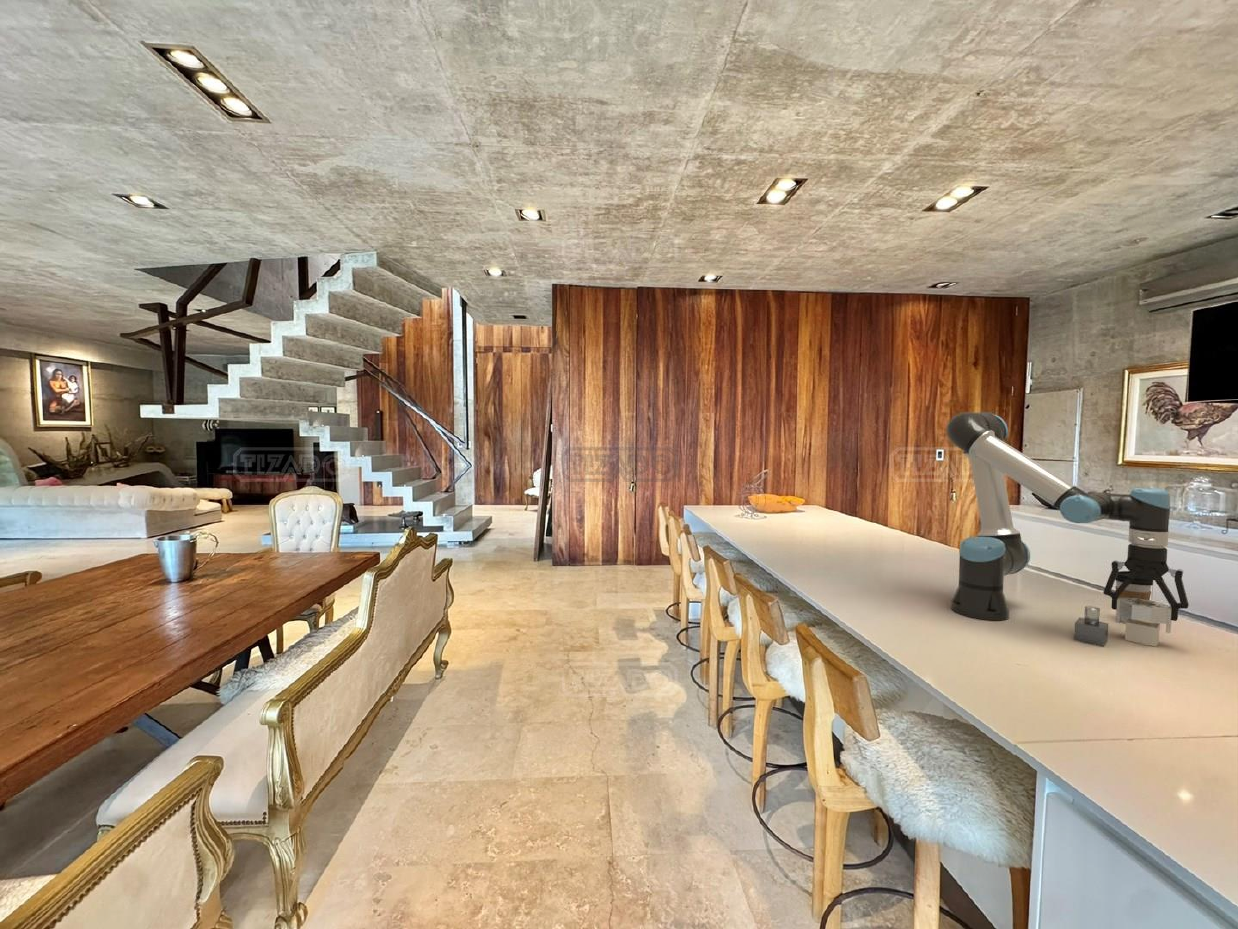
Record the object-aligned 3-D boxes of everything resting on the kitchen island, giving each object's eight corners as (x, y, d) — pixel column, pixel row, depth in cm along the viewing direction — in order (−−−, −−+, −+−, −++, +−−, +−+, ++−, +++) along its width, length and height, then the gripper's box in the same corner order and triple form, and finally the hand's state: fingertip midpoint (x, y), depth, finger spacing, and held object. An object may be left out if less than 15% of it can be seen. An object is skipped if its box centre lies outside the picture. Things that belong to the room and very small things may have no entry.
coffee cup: (1158, 627, 153) (1162, 577, 152) (1125, 625, 155) (1127, 575, 154) (1136, 618, 161) (1139, 570, 160) (1104, 616, 163) (1107, 568, 162)
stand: (1074, 640, 144) (1075, 607, 143) (1078, 634, 147) (1080, 602, 147) (1103, 647, 139) (1105, 613, 139) (1107, 641, 143) (1109, 608, 142)
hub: (1125, 640, 144) (1127, 608, 143) (1128, 634, 148) (1130, 603, 147) (1156, 646, 139) (1158, 613, 139) (1158, 641, 143) (1160, 609, 142)
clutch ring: (1118, 616, 144) (1118, 602, 143) (1123, 609, 149) (1123, 596, 149) (1165, 625, 137) (1166, 610, 136) (1168, 618, 142) (1169, 603, 142)
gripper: (1091, 540, 148) (1087, 618, 149) (1206, 554, 131) (1201, 642, 132) (1096, 537, 153) (1092, 613, 154) (1208, 550, 136) (1202, 634, 137)
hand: (1142, 626), depth 143 cm, fingers closed on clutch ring, 9 cm apart
